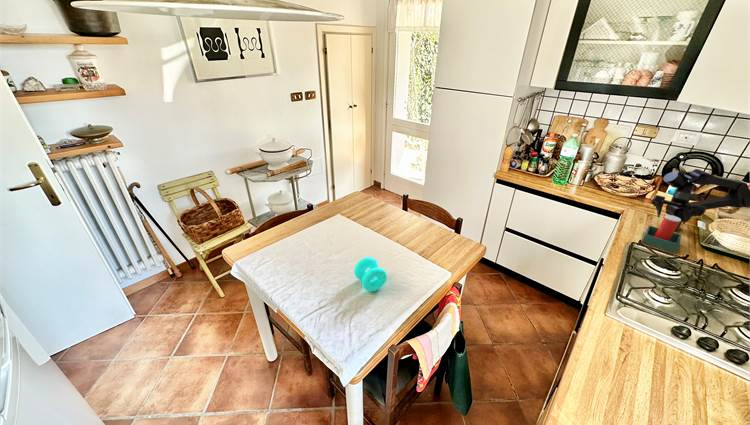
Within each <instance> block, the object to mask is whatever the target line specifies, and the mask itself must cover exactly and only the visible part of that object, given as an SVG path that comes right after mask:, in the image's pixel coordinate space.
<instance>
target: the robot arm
mask: <svg viewBox="0 0 750 425" xmlns="http://www.w3.org/2000/svg"><path fill="white" fill-rule="evenodd" d="M663 181H664V182H665V183H666V184H668V185H669V186H670V187H672V188H675V189H674V193H673V195H672V197H671V199H670V200H667V199H666V196H663V195H659V194H656V195H654V196H653V197H652V199H651V201H650V204H651V205H653V207H655V209H656V215H657V219H658V218H660V216H661V214H662V210H663V207H664V205H666V206H665V213H666V215H673V216H676V217H678V218H680V219H681V221H680V223H679V224H678V226H677V228H676V230H675V231H674V232H678V231H680V230H682V228H681V225H685V224H686V223H687V222H689V221H690V220H691V218H693V217H696V218H697V217H702V216H703V215H704V214H705V213H706V211H707V210H712V209H721V208H725V207H730V208H740V209H741V208H749V207H750V188H749V184H748V183H746V182H744V181H742V180H740V179H732V178H728V177H723V176H718V175H714V174H711V173H709V172H706V171H704V170H702V169H700V168H695V169H693V170H690V171H687V172H681V171H680V170H678V169H676V170H675V171H671V172H669V173H666V174H665V175H664V176H663ZM696 184H698V185H700V186H709V185H713V186H719V187H723V188H728V192H727V193H726V194H725V195H724V196H721V197H715V198H708V199H702V200H697V199H698V197H699V194H698V193H694V192H693V191H694V190H698V189H699V187H698V186H697V185H696ZM696 200H697V201H696Z"/></svg>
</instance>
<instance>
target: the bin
mask: <svg viewBox="0 0 750 425" xmlns="http://www.w3.org/2000/svg"><path fill="white" fill-rule="evenodd" d="M658 228H659V227H656V226H653V225H648V226H647V228H646V230H645V232H644V233H643V237H642V239H641V243H642V244H645V245H648V246H651V247H654V248H658V249H660V250H663V251H667V252H669V253H673V254H676V252H677V250H678V249H679V247H680V245H681V239H682V234H680V233H676V232H674V233H673V235H672V236H671V238H670V240H669V241H666V240H663V239H660V238H657V237H654V235H655V234H656V232H657V230H658Z"/></svg>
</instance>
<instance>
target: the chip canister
mask: <svg viewBox="0 0 750 425" xmlns="http://www.w3.org/2000/svg"><path fill="white" fill-rule="evenodd" d="M680 221H681V219H680V218H678V217H676V216H673V215H669V214H665V215H664V217H663V219H662V220H661V222H660V225H659V226H658V227H657V228H658V230H657V232H656V234H655V235H654V237H657V238H660V239H663V240H666V241H669V240H670V238H671V236H672V235H673V233H675V232H676V231H675V230H676V228H677V226H678V224H679V223H680Z"/></svg>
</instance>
